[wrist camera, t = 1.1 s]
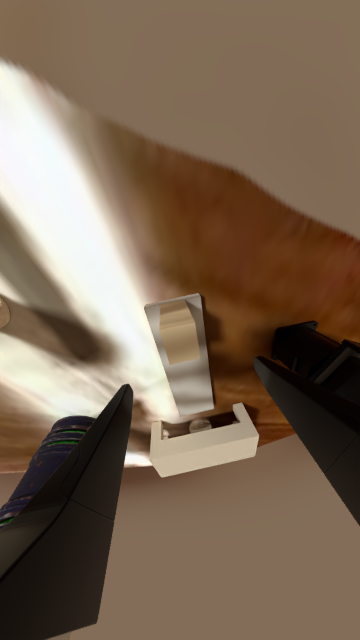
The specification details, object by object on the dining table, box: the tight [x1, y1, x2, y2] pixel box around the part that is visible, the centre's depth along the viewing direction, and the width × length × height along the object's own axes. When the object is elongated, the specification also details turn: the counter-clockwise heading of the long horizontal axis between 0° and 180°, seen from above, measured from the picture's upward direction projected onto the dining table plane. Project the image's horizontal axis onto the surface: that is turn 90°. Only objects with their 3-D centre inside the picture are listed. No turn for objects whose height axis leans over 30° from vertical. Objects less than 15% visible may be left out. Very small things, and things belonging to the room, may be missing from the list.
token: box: [189, 417, 212, 434], centre depth 31 cm, size 5×5×2 cm
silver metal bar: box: [144, 293, 214, 417], centre depth 20 cm, size 24×7×8 cm, turn 11°
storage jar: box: [0, 416, 96, 531], centre depth 21 cm, size 10×10×15 cm
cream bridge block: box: [150, 403, 259, 478], centre depth 29 cm, size 20×9×6 cm, turn 100°
